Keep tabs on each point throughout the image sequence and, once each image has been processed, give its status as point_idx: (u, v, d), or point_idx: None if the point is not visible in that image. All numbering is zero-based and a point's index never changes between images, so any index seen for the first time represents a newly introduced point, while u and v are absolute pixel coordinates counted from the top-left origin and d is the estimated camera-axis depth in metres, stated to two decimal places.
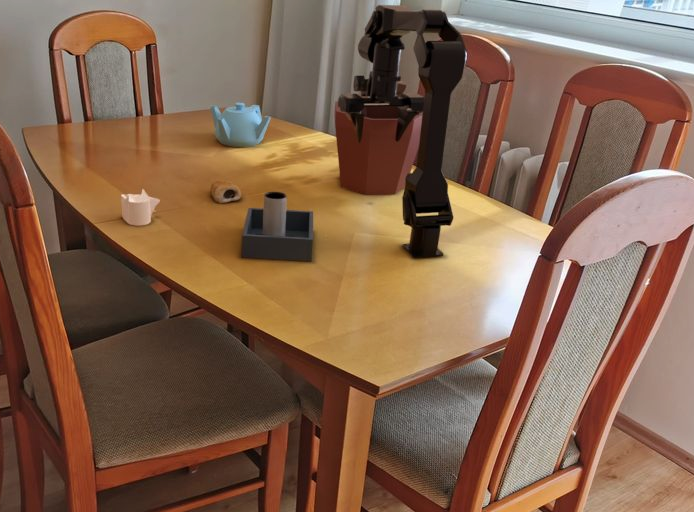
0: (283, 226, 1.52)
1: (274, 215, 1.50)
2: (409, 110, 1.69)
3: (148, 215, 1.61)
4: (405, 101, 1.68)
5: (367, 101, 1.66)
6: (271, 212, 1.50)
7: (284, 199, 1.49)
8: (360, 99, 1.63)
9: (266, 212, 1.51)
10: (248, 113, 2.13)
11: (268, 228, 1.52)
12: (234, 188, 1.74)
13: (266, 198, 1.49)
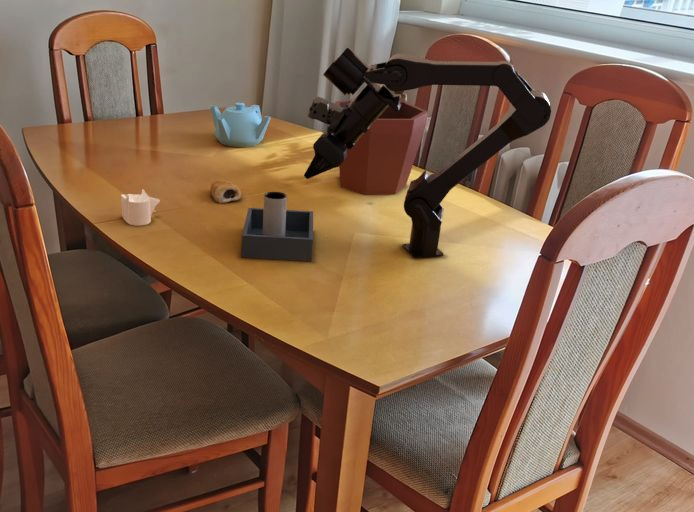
0: (283, 226, 1.52)
1: (274, 215, 1.50)
2: None
3: (148, 215, 1.61)
4: None
5: None
6: (271, 212, 1.50)
7: (284, 199, 1.49)
8: (346, 151, 1.43)
9: (266, 212, 1.51)
10: (248, 113, 2.13)
11: (268, 228, 1.52)
12: (234, 188, 1.74)
13: (266, 198, 1.49)
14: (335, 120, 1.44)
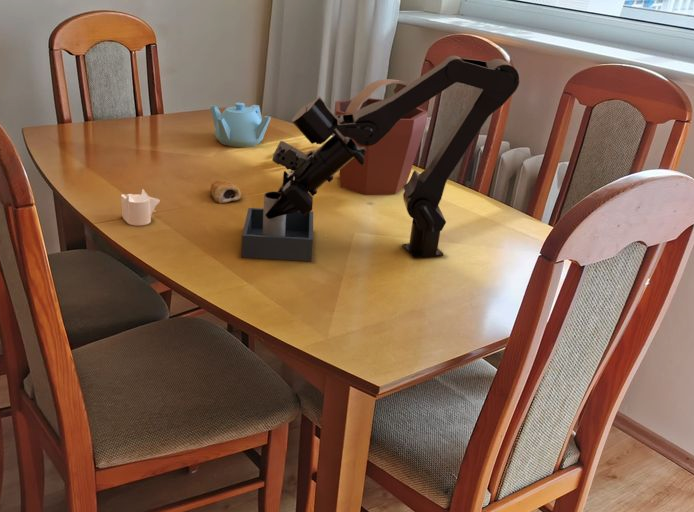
0: (283, 226, 1.52)
1: None
2: None
3: (148, 215, 1.61)
4: None
5: None
6: None
7: None
8: (312, 199, 1.44)
9: (266, 212, 1.51)
10: (248, 113, 2.13)
11: (268, 228, 1.52)
12: (234, 188, 1.74)
13: (266, 198, 1.49)
14: (301, 167, 1.45)
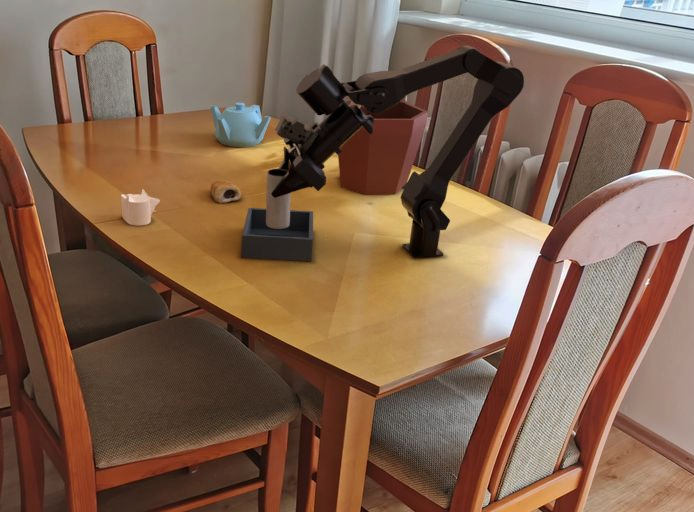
0: (289, 205, 1.44)
1: None
2: None
3: (148, 215, 1.61)
4: None
5: None
6: None
7: None
8: None
9: (271, 191, 1.41)
10: (248, 113, 2.13)
11: (273, 208, 1.43)
12: (234, 188, 1.74)
13: (271, 176, 1.40)
14: (309, 140, 1.36)
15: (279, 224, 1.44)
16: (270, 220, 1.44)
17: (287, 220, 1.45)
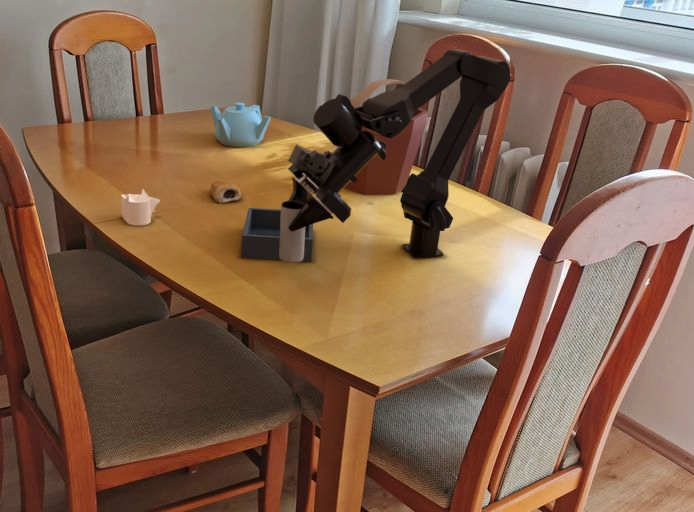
0: (304, 237, 1.39)
1: None
2: None
3: (148, 215, 1.61)
4: None
5: None
6: None
7: None
8: None
9: (287, 225, 1.36)
10: (248, 113, 2.13)
11: (290, 242, 1.37)
12: (234, 188, 1.74)
13: (287, 209, 1.35)
14: (327, 171, 1.32)
15: (295, 258, 1.39)
16: (286, 254, 1.39)
17: (302, 253, 1.40)
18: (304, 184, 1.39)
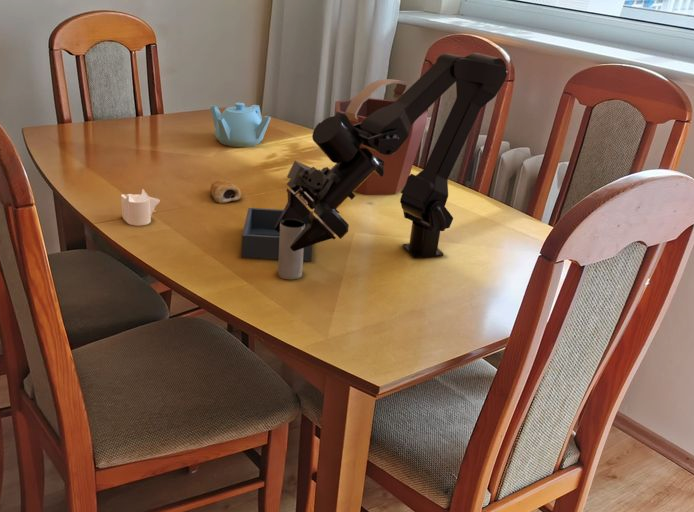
0: (302, 255, 1.40)
1: None
2: None
3: (148, 215, 1.61)
4: None
5: None
6: (292, 242, 1.37)
7: (304, 226, 1.38)
8: None
9: (286, 242, 1.38)
10: (248, 113, 2.13)
11: (288, 259, 1.39)
12: (234, 188, 1.74)
13: (286, 227, 1.36)
14: (325, 187, 1.33)
15: (294, 275, 1.41)
16: (284, 271, 1.41)
17: (301, 270, 1.42)
18: (298, 195, 1.42)
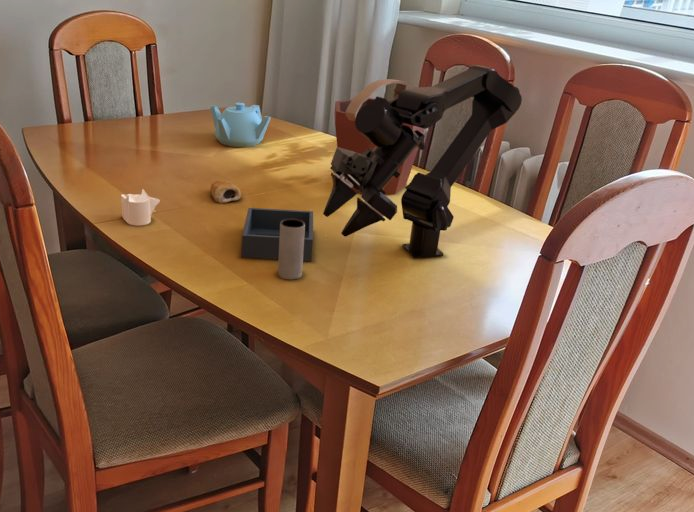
0: (302, 255, 1.40)
1: (295, 244, 1.38)
2: None
3: (148, 215, 1.61)
4: None
5: None
6: (292, 242, 1.37)
7: (304, 226, 1.38)
8: None
9: (286, 242, 1.38)
10: (248, 113, 2.13)
11: (288, 259, 1.39)
12: (234, 188, 1.74)
13: (286, 227, 1.36)
14: (370, 171, 1.35)
15: (294, 275, 1.41)
16: (284, 271, 1.41)
17: (301, 270, 1.42)
18: (343, 179, 1.44)
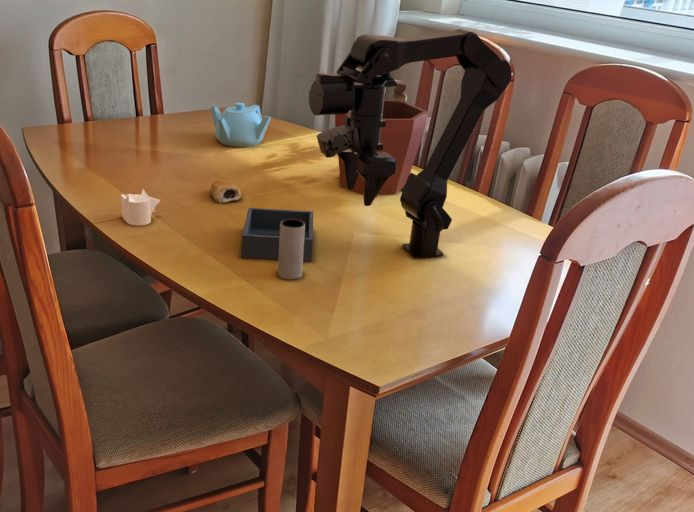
0: (302, 255, 1.40)
1: (295, 244, 1.38)
2: None
3: (148, 215, 1.61)
4: None
5: None
6: (292, 242, 1.37)
7: (304, 226, 1.38)
8: (388, 154, 1.34)
9: (286, 242, 1.38)
10: (248, 113, 2.13)
11: (288, 259, 1.39)
12: (234, 188, 1.74)
13: (286, 227, 1.36)
14: (355, 139, 1.34)
15: (294, 275, 1.41)
16: (284, 271, 1.41)
17: (301, 270, 1.42)
18: (345, 149, 1.44)
